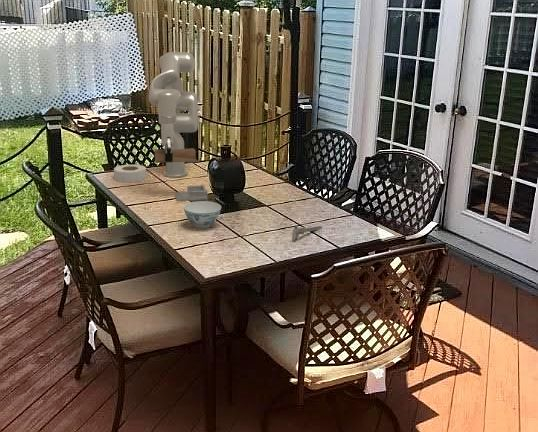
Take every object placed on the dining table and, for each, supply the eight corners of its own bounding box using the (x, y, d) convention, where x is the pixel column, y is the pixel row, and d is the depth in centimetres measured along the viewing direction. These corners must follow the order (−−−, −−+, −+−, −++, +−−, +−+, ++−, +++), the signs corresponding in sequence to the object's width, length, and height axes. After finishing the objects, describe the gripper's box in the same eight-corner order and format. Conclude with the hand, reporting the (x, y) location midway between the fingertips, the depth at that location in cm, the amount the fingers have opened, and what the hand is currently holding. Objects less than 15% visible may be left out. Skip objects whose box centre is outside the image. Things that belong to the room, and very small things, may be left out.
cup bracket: (174, 194, 296) (174, 186, 294) (204, 192, 299) (204, 184, 298) (176, 201, 286) (176, 193, 284) (207, 199, 289) (207, 191, 288)
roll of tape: (114, 175, 324) (114, 164, 323) (146, 174, 327) (145, 163, 326) (113, 183, 310) (113, 172, 308) (146, 182, 313) (146, 171, 311)
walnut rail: (154, 160, 287) (154, 149, 286) (194, 159, 291) (194, 148, 290) (155, 162, 283) (155, 152, 282) (195, 161, 287) (195, 150, 285)
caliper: (294, 242, 242) (294, 227, 240) (291, 242, 243) (292, 226, 241) (322, 228, 258) (323, 213, 256) (320, 227, 258) (321, 213, 256)
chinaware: (187, 232, 249) (186, 214, 246) (181, 220, 262) (181, 202, 260) (224, 229, 253) (224, 211, 250) (217, 217, 266) (217, 200, 264)
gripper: (157, 116, 287) (159, 156, 293) (160, 123, 272) (161, 165, 278) (174, 116, 289) (175, 155, 295) (177, 123, 273) (178, 164, 279)
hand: (168, 159), depth 286 cm, fingers closed on walnut rail, 4 cm apart
